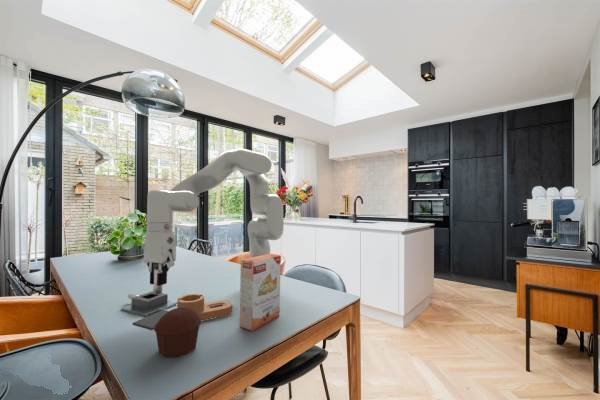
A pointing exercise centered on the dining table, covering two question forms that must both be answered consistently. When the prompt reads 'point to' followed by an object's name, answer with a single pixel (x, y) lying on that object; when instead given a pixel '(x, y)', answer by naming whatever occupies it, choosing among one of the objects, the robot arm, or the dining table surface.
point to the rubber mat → (150, 320)
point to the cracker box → (259, 290)
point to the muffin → (177, 332)
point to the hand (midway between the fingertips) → (158, 283)
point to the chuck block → (148, 304)
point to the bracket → (205, 306)
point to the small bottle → (156, 288)
